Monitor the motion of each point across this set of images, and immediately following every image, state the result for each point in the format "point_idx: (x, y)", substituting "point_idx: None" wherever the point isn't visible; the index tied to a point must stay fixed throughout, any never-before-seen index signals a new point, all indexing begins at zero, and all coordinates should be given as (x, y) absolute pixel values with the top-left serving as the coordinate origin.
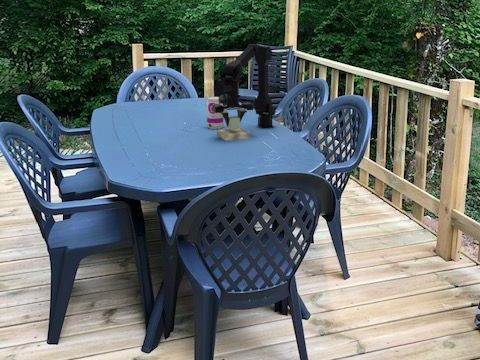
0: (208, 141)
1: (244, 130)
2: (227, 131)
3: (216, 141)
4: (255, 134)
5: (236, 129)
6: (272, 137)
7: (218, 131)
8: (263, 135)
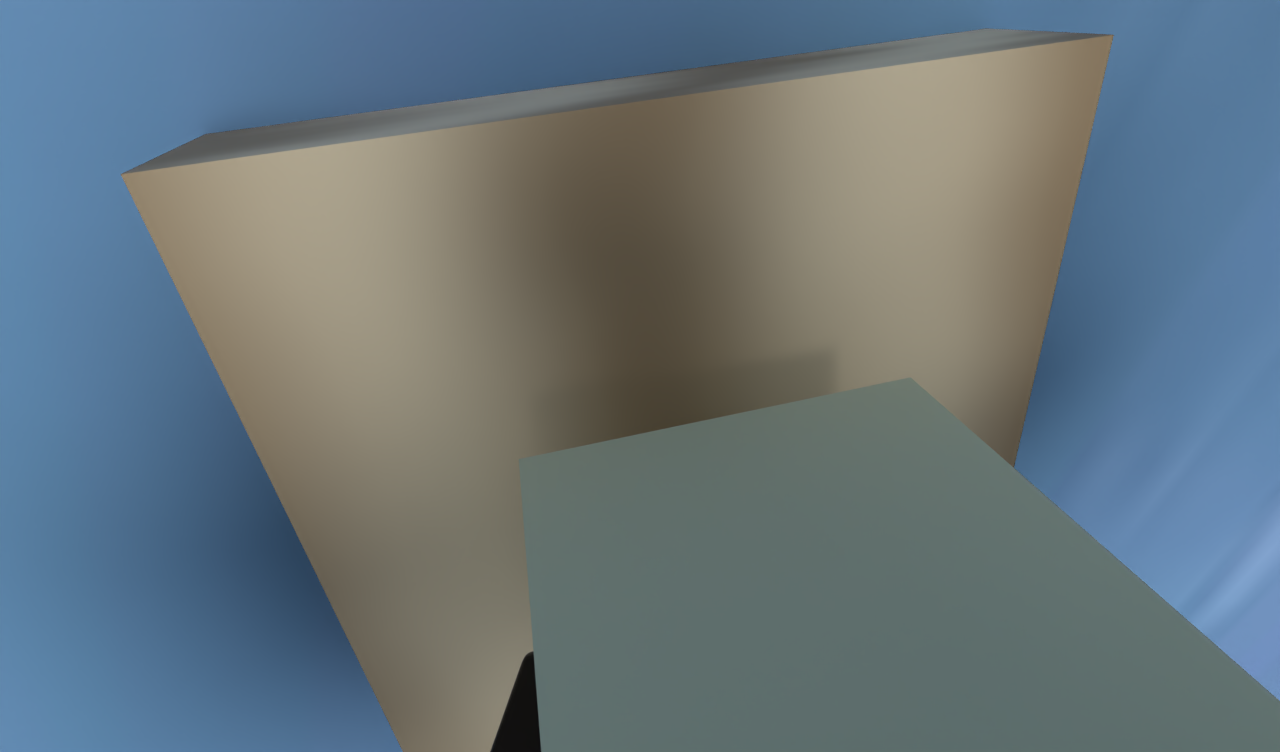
0: (24, 702)
1: (1019, 411)
2: (543, 453)
3: (230, 704)
4: (1181, 289)
5: (892, 248)
6: (1235, 539)
7: (225, 376)
8: (1233, 399)
